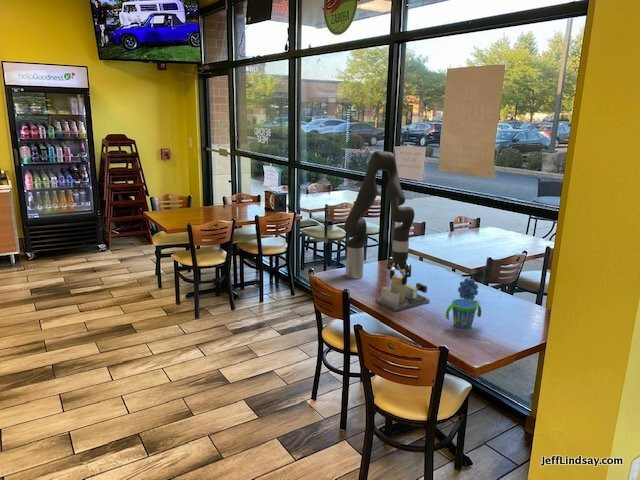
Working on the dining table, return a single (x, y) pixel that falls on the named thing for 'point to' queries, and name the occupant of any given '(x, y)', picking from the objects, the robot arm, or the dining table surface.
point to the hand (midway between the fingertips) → (398, 281)
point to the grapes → (468, 289)
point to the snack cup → (463, 312)
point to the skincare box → (398, 286)
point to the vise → (392, 300)
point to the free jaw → (414, 291)
